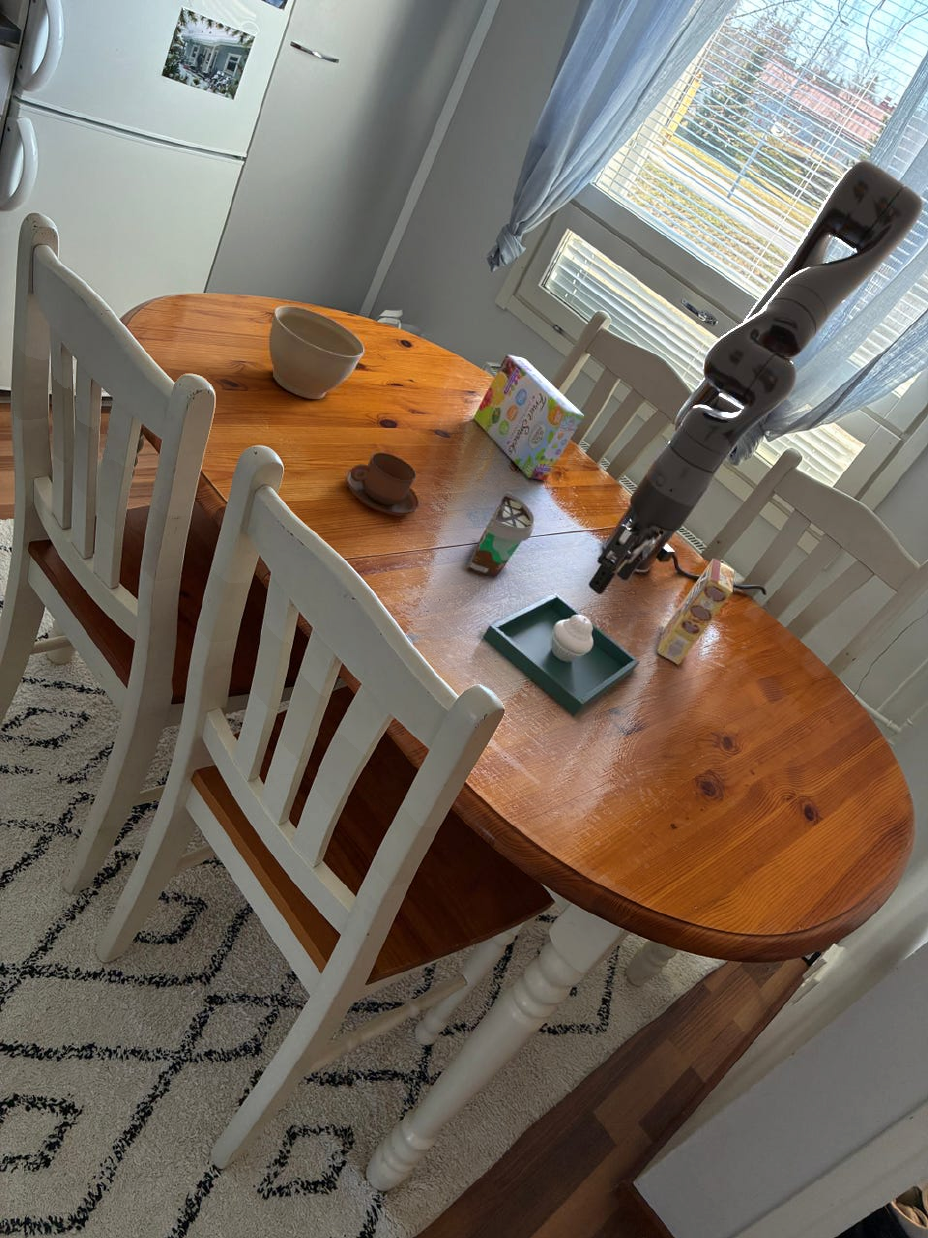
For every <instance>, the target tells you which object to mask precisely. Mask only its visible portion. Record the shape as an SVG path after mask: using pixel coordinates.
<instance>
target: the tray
mask: <svg viewBox="0 0 928 1238" xmlns="http://www.w3.org/2000/svg"><path fill="white" fill-rule="evenodd" d="M573 615H582V616H584V617H586V616H585V615H584V614H582V613H581V612H580V611H578V610H577V608H575V607H574V606H572V605H571V604H570V603H569V602H568V601H566V600H565V599H564V598H563V597H561V595H559V594H558V593H557V592H553V593H552V594H550V595H548V596H546V597H544V598H543V599H540V600H537V601H536V602H534V603H532V604H530V605H528V606H526V607H524V608H521V609H520V610H518V611H516V612H514V613H512V614H510V615H508V616H506V617H503V618H502V619H500V620H498V621H496V622H494V623H492V624H490V625H489V626H488V628H486V629H487V630H486V631H485V633H484V635H483V636H482V639H483V640H484V641H486V642H487V643H488V644H489V645H490V646H492V648H494V649H495V650H496V651H497V652H498V653H500V654H501V655H502V656H503V657H504V658H505V659H507V660H508V661H509V662H510V663H511V664H512V665H514V667H516V668H517V669H518V670H519V671H520V672H522V673H523V674H524V675H525V676H527V678H529V680H531V681H532V682H533V683H534V684H535V685H537V686H538V687H539V688H540V689H541V690H543V691H544V692H545V693H546V694H547V695H548V696H550V697H551V698H552V699H553V700H554V701H555V702H556V703H557V704H559V705H560V706H561V707H562V708H563V709H565V710H566V711H567V712H568V713H570V715H572V717H575V716H577V715H578V714H579V713H581V712H582V711H583V710H584V709H587V707H588V706H590V705H591V704H592V703H594V702H596V701H597V700H598V699H599V698H601V697H602V696H603V695H605V694H606V693H607V692H608V691H610V690H611V689H612V688H614V687H616V686H617V685H618V684H619V683H620V682H622V681H623V680H624V679H625V678H627V677H628V676H629V675H631V674H632V673H633V672H634V670H635V669H636V668H637V667H638V665H639V664H640V662H641V661H640V660H639V659H637V657H635V656H633V655H632V654H631V652H629V651H628V650H626V649H625V648H624V647H623V646H621V644H619V643H618V642H617V641H615V640H614V639H613V638H612V637H610V636H609V635H608V634H607V633H605V632H604V631H603V630H602V629H601V628H599V627H598V626H597V625H596V624H595V623H593V621H591V620H590V622H591V623H592V627H593V630H592V632H591V635H592V638H593V646H592V648H591V650H590V651H589V652H587V653H585V654H584V655H583V656H580V657H578V658H576V659H574V660H572V661H569V662H565V661H561V660H559V659H558V658H557V657H556V656H554V654H553V653H552V650H551V646H552V632H553V629H554V626H555V624H556V623H557V622H559V621H561V620H566V619H570V618H571V617H572V616H573Z"/></svg>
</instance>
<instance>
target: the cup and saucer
mask: <svg viewBox="0 0 928 1238" xmlns="http://www.w3.org/2000/svg"><path fill="white" fill-rule="evenodd" d="M416 477H417V473H416V471H415V470H414V468H413V467H412V466H411V465H410V464H409V463H408V462H406V461H405V460H404V459H402V458H400V457H398V456H396V455H393V454H391V453H387V452H375V453H373V454H372V456H371V458H370V460H369V461H368V464H364V463H362V464H361V463H359V464H356V465H355V466H354V467H352V468H350V469H349V470H348V471H347V473H346V485H347V486H348V488H349V490H350V492H351V493H352V494H353V496H355V498H357V499H358V500H359V501H360V502H361V503H363V504H364V505H366V506H367V507H369V508H371V509H373V510H375V511H377V512H379V513H382V514H385V515H390V516H397V517H398V516H401V517H402V516H407V515H410V514H413V513H415V512H416V511H417V509H418V508H419V504H420V502H419V497H418V496H417V494H416V493H415V491H414V490H413V489H412V485H413V483H414V481H415V479H416Z"/></svg>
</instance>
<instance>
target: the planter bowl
mask: <svg viewBox="0 0 928 1238" xmlns="http://www.w3.org/2000/svg"><path fill="white" fill-rule="evenodd" d="M272 316H273V319H272V323H271V327H270V331H269V337H268V338H269V340H268V343H269V344H268V345H269V346H268V347H269V355H270V361H271V364H272V367H273V370H272V377H273V379H274V380H275V382H276V383H277V384H278V385H279V386H281V387H282V388H283V389H285V390H287V391H288V392H289V393H292V394H294V395H296V396H299V397H301V398H305V399H308V400H309V399H311V400H320V399H323V398H324V397H325V395H326V393H327V392H329V391H332V390H334V389H335V388H337V387H339V386H340V385H341V384H342V383H343V382H344V381H346V380H347V379H348V378H349V377H350V376H351V374H352V373H353V371H354V370H355V368H356V367H357V365H358V364H359V363H358V362H359V360H361V358H362V357H363V356H364V353H365V347H364V344H363V343H362V341H361V340H360V339H359V338H358V336H356V334H354V333H353V332H352V331H350V330H349V328H347V327H345V326H344V325H343V324H341V323H340V322H337V321H335V320H334V319H332V318H330V317H328V316H326V315H323V314H321V313H319V312H316V311H313V310H311V309H308V308H305V307H301V306H295V305H280V306H278V307H276V309H275V310H274V312H273V315H272Z"/></svg>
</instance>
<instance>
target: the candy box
mask: <svg viewBox="0 0 928 1238" xmlns="http://www.w3.org/2000/svg"><path fill="white" fill-rule="evenodd" d="M699 576H700V578H699V579H696V580H697V581H696V582H695V583H694V585H693V586H692V587H691V588H690V590H689V591H688V593H687V594H686V596H685V597H684V598H683V600H682V602H681V603H680V604H679V606H678V607H677V609H676V610H675V611H674V613H673V615H672V616H671V617H670V619H669V620H668V621H667V623H666V625H665V626H664V627H663V629H662V631H661V636H660V640H659V644H658V649H657V654H658V655H660V656H662V657H663V658H665V659H666V660H667V659H668V660H669V661H671V662H672V663H674V664H676V665H677V666H678V665H680V664H681V663H682V661H683V660H684V659H685V657H686V656H687V654H689V652H690V650H692V648H693V646H694V645H695V644H696V642H697V641H698V640H699V638H700V637H701V636H702V635H703V633H704V631H706V629H707V628H708V627H709V625H710V624H711V622H712V621H713V620H714V618H715V617H716V616H717V614H718V613H719V611H720V610H721V609H722V608H723V606H724V605H725V603H726V602H727V601H728V600H729V598H730V597H731V596H732V594H733V592H734V588H733V584H735V570H734V569H733V568H731V567H730V566H728V565H727V564H725V563H723V562H721V561H720V560H718V559H716V558H712V559H711V561H710V562H709V564H708V565H707V566H706V568H705V569H704V571H703V572H702V574H701V575H699Z"/></svg>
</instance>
